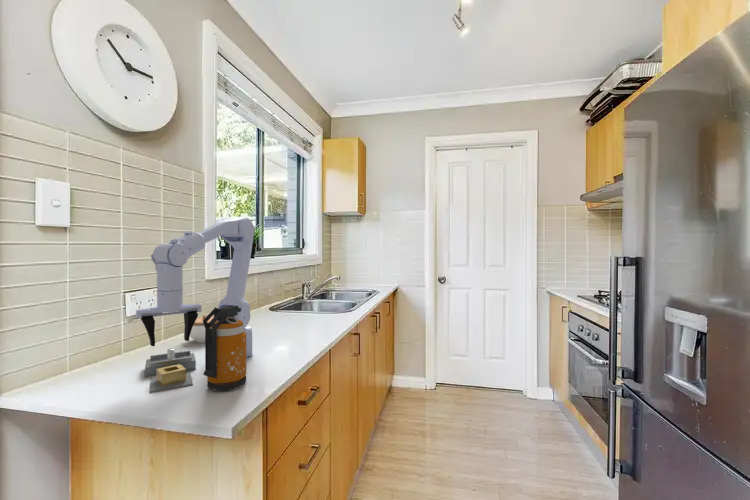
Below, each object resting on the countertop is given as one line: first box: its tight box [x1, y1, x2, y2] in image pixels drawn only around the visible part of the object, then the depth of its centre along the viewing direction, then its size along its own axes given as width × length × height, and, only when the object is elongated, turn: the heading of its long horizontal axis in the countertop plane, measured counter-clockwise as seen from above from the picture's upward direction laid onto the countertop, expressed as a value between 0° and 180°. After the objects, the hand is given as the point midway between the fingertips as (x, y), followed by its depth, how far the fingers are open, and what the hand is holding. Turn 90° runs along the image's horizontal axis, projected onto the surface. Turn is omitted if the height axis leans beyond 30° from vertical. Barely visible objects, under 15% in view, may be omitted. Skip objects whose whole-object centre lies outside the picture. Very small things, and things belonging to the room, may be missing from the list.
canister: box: [203, 306, 247, 392], centre depth 85 cm, size 9×11×20 cm
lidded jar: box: [190, 314, 214, 344], centre depth 129 cm, size 11×11×9 cm
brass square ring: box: [155, 364, 187, 387], centre depth 88 cm, size 5×5×3 cm
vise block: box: [144, 348, 197, 378], centre depth 98 cm, size 12×8×6 cm, turn 121°
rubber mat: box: [149, 372, 194, 394], centre depth 88 cm, size 9×9×1 cm
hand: (170, 342), depth 89 cm, fingers open, 7 cm apart
